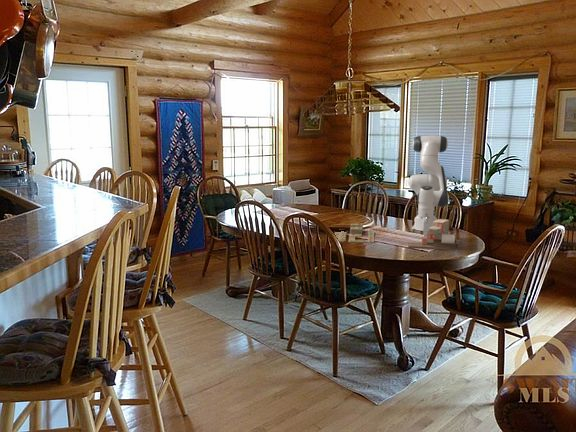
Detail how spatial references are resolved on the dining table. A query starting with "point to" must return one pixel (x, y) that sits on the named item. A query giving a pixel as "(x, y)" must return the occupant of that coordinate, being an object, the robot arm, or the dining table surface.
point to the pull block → (444, 239)
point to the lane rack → (435, 245)
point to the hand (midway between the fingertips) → (424, 235)
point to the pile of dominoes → (355, 234)
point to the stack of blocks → (438, 230)
